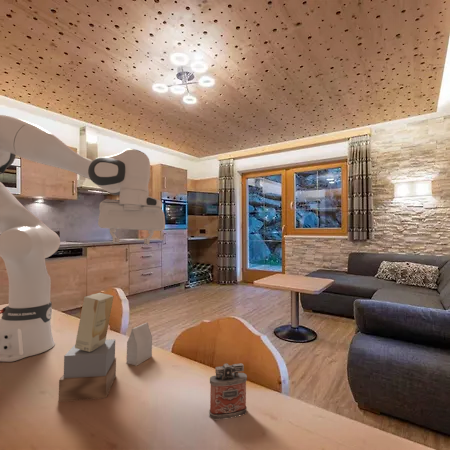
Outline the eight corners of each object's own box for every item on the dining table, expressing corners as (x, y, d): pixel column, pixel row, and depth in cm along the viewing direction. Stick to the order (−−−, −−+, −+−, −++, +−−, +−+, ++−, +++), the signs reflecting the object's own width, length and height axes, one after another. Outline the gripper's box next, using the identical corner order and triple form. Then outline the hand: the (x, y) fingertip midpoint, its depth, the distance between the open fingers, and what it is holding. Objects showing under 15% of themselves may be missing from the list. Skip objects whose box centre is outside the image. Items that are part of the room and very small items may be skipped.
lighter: (211, 421, 57) (211, 371, 57) (207, 411, 60) (208, 363, 60) (248, 415, 59) (249, 366, 59) (243, 405, 62) (244, 359, 62)
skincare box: (90, 353, 65) (99, 300, 65) (73, 348, 66) (82, 297, 66) (106, 342, 71) (114, 295, 72) (91, 338, 72) (99, 291, 72)
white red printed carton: (151, 356, 86) (152, 323, 86) (136, 365, 80) (137, 330, 80) (142, 354, 88) (142, 321, 88) (126, 363, 81) (127, 328, 82)
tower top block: (63, 378, 63) (64, 355, 64) (78, 360, 72) (78, 340, 72) (105, 375, 65) (106, 353, 65) (114, 358, 74) (115, 339, 74)
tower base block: (58, 402, 63) (59, 379, 63) (74, 379, 72) (75, 359, 73) (105, 399, 64) (106, 376, 64) (115, 377, 74) (116, 357, 74)
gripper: (96, 197, 86) (93, 242, 85) (165, 201, 88) (162, 245, 87) (103, 200, 92) (100, 242, 91) (166, 203, 94) (164, 245, 94)
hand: (131, 244), depth 89 cm, fingers open, 8 cm apart
